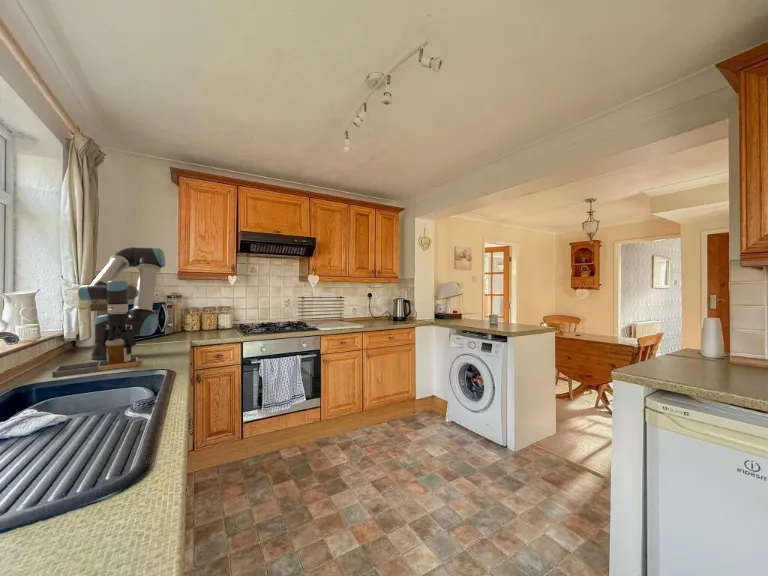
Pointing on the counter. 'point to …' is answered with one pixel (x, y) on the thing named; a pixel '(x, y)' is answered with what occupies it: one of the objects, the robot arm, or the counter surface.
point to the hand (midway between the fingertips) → (118, 361)
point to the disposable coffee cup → (115, 351)
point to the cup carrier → (97, 363)
